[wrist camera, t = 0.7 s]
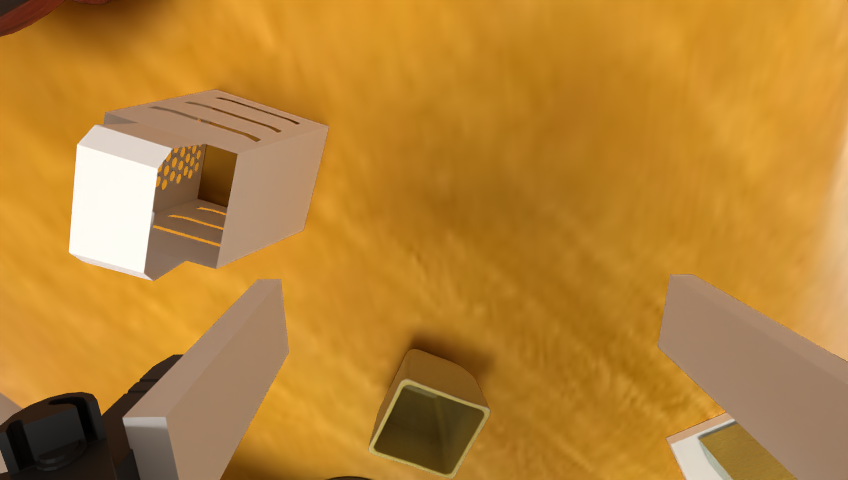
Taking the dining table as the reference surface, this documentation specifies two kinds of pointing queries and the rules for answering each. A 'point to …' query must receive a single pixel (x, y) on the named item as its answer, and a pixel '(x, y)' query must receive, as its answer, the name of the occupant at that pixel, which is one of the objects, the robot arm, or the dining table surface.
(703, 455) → the base board
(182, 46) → the dining table surface
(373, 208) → the dining table surface
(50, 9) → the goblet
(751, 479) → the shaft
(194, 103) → the grater
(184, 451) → the robot arm
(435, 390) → the flower pot
